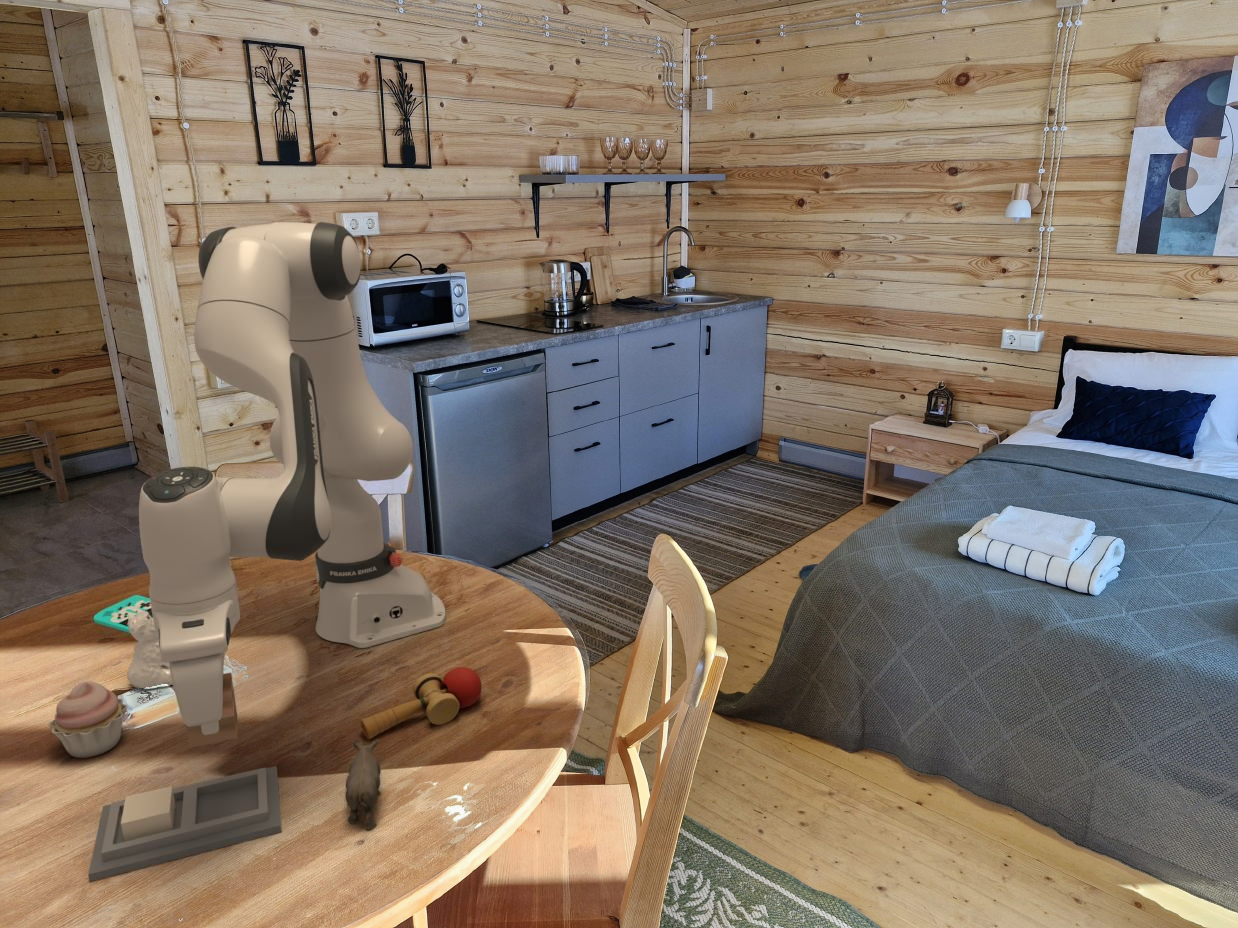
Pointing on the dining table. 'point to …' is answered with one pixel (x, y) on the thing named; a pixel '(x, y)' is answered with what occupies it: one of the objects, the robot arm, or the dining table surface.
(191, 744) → the brown block
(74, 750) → the cupcake
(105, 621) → the handheld game console
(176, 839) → the base plate
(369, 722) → the kendama
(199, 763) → the dining table surface
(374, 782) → the rhino figurine
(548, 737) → the dining table surface
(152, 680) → the sitting furry creature
